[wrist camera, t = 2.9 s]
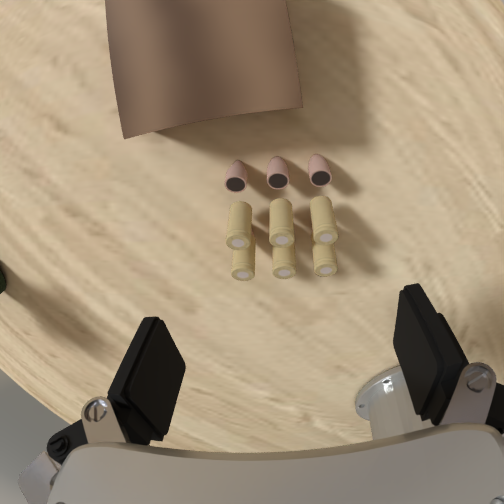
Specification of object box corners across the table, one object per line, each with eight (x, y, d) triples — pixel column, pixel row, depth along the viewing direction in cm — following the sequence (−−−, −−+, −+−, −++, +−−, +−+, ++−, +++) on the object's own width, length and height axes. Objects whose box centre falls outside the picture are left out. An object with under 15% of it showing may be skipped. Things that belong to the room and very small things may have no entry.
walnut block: (275, -22, 14) (273, -51, 10) (297, 107, 19) (302, 107, 15) (136, 10, 16) (104, -6, 11) (153, 131, 21) (124, 139, 16)
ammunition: (338, 281, 20) (338, 165, 16) (232, 286, 21) (213, 174, 17) (329, 249, 24) (326, 152, 21) (240, 254, 25) (227, 160, 22)
